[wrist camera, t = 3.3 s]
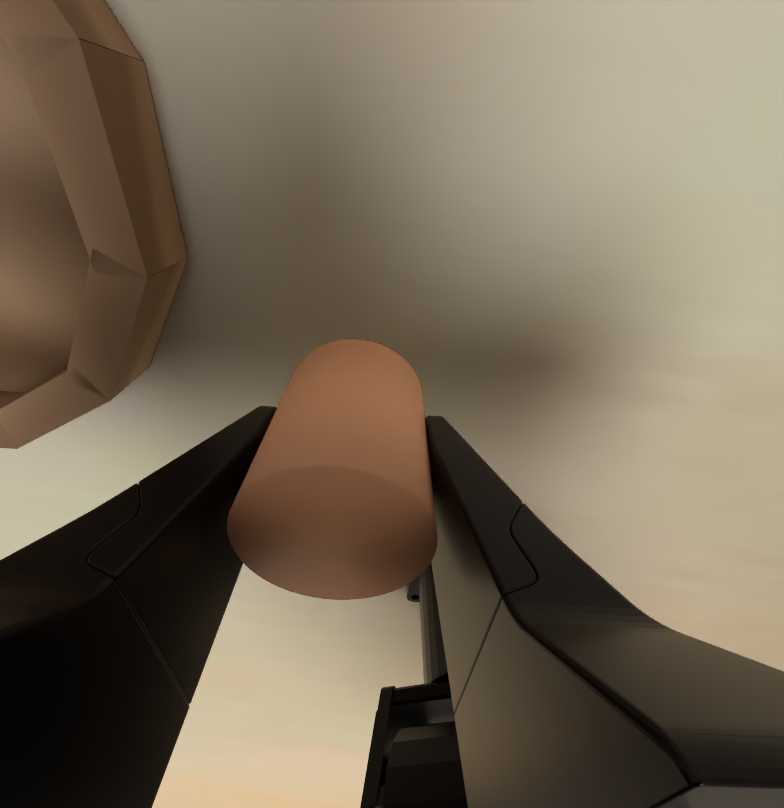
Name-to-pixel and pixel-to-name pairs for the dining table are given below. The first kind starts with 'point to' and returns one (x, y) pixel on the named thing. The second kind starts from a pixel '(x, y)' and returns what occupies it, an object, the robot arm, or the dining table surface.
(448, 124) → the dining table surface
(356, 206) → the dining table surface
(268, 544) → the bead
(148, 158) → the groove tray
